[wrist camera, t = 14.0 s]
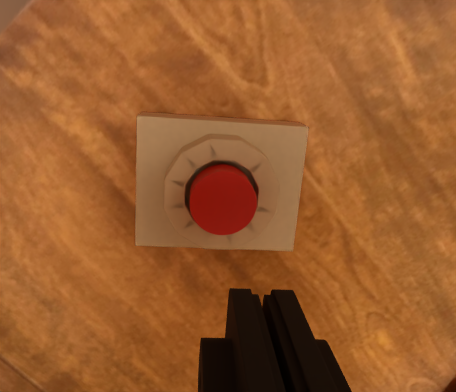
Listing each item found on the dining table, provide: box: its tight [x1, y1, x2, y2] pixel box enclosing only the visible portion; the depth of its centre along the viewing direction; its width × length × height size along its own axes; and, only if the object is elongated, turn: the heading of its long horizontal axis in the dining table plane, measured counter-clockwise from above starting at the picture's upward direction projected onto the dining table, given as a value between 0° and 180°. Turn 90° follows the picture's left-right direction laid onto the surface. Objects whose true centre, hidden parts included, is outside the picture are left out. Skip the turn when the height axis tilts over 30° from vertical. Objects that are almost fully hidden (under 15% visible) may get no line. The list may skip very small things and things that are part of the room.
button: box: [190, 164, 257, 235], centre depth 23 cm, size 4×4×2 cm
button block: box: [135, 112, 309, 251], centre depth 26 cm, size 10×8×4 cm
